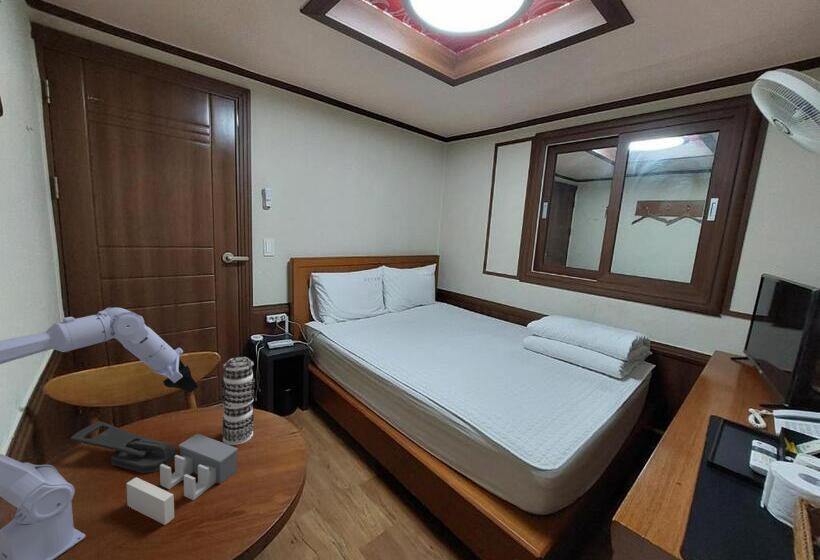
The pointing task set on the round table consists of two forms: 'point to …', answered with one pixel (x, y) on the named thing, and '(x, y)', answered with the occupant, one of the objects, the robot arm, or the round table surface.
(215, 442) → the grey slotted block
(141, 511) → the door panel
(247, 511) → the round table surface
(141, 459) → the zipper pull
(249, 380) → the decorative candle
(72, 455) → the round table surface
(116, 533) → the round table surface
